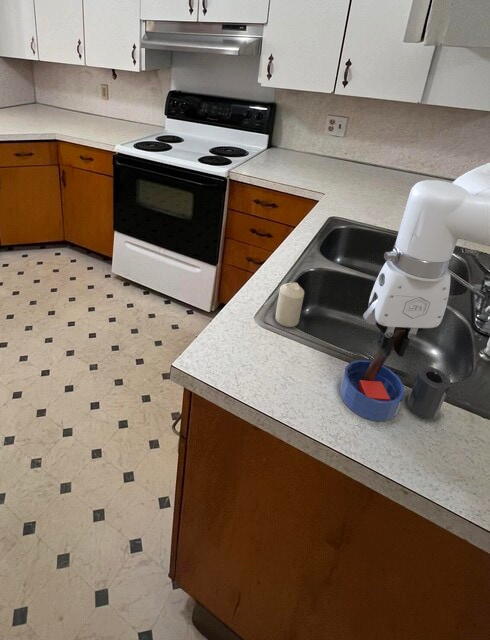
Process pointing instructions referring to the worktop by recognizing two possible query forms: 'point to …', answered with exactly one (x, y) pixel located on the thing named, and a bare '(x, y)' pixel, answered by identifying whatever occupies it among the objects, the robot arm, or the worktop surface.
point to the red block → (373, 390)
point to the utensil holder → (428, 392)
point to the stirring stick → (381, 357)
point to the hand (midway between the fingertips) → (390, 349)
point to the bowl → (364, 404)
